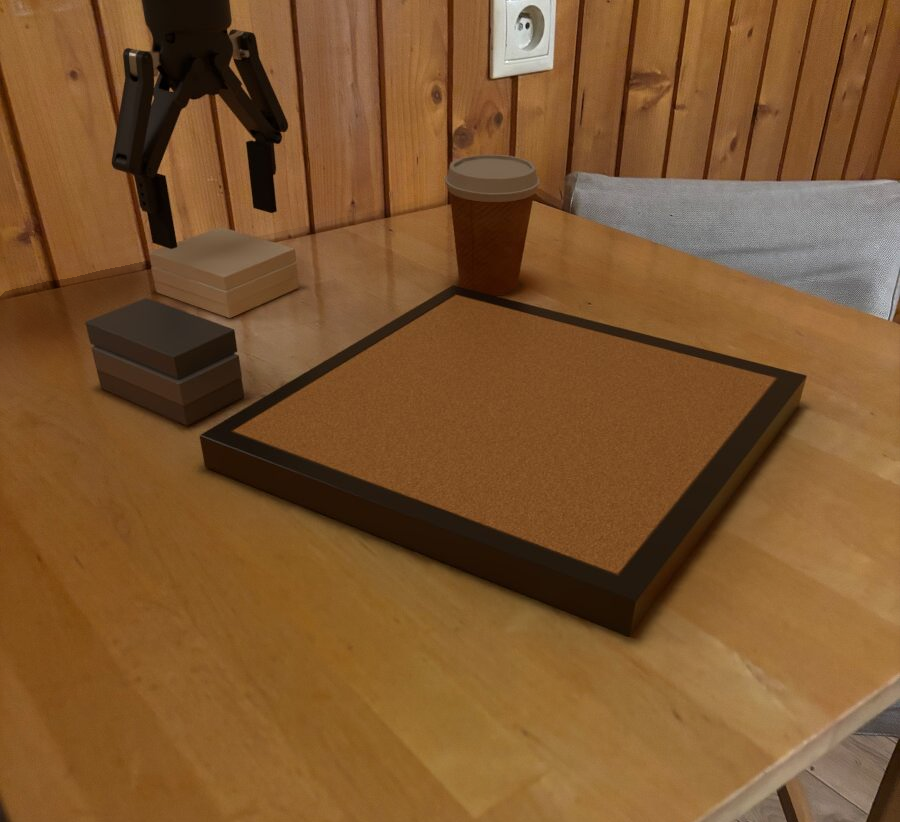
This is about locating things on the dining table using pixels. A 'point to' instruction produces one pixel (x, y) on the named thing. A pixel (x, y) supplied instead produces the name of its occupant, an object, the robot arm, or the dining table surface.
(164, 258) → the beige flat slab
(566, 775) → the dining table surface
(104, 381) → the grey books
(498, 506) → the cork board
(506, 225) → the disposable coffee cup
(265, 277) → the beige square block
